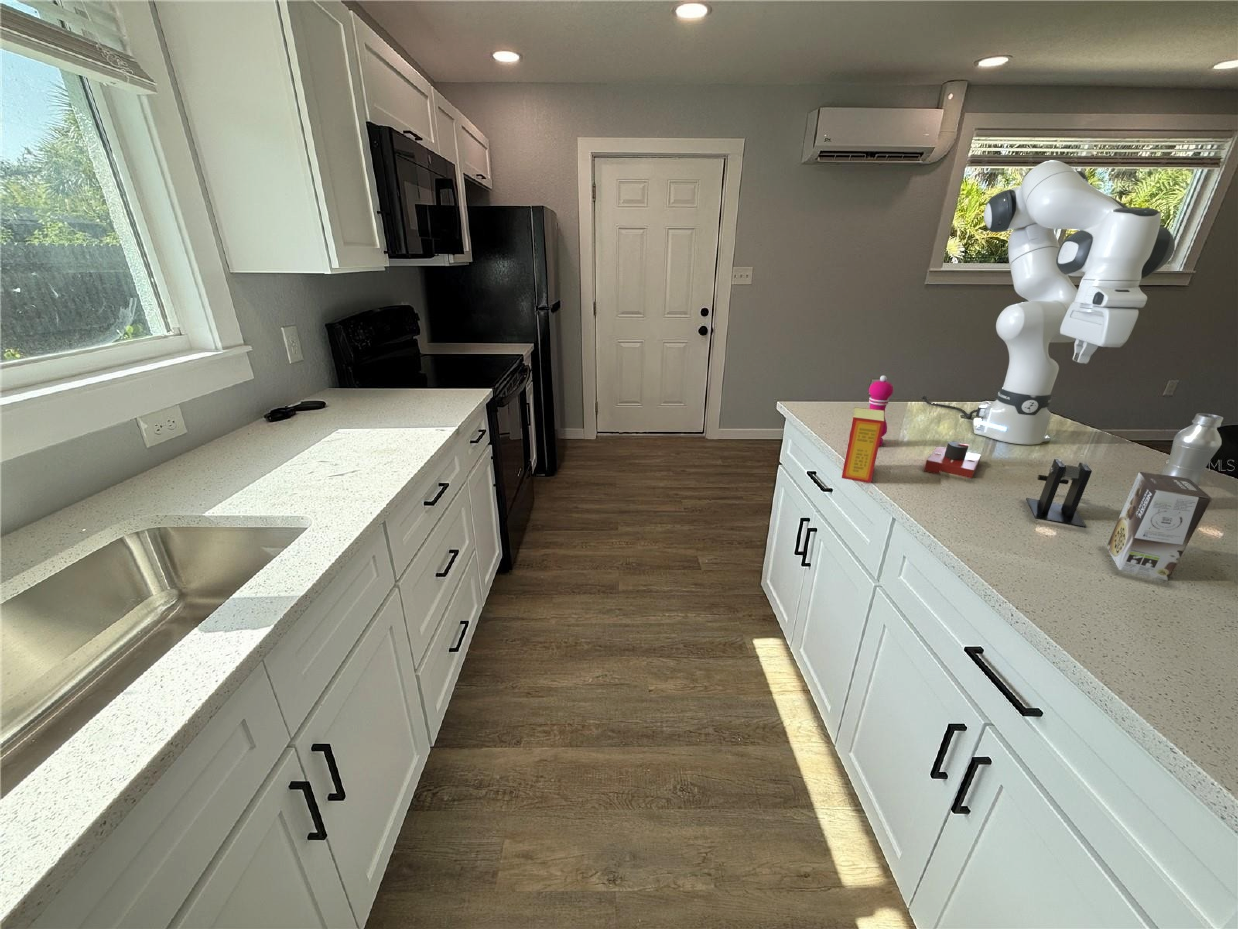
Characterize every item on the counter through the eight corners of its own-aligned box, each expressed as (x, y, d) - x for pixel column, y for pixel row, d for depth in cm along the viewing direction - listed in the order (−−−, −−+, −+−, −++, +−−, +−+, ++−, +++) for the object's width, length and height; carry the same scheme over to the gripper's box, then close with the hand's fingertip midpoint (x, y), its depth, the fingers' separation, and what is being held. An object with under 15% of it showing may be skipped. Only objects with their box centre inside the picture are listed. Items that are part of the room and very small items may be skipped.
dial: (942, 457, 125) (946, 443, 123) (946, 452, 128) (950, 439, 126) (962, 461, 122) (966, 447, 120) (966, 457, 125) (970, 443, 123)
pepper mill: (887, 448, 139) (902, 378, 131) (859, 446, 141) (873, 377, 133) (879, 439, 146) (894, 373, 138) (854, 438, 147) (866, 372, 139)
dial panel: (934, 456, 134) (937, 445, 132) (978, 465, 127) (981, 454, 126) (923, 470, 125) (926, 459, 123) (970, 481, 118) (974, 469, 117)
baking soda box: (843, 464, 129) (855, 405, 122) (871, 468, 126) (884, 409, 120) (841, 478, 121) (853, 416, 114) (870, 483, 118) (884, 419, 112)
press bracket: (1024, 502, 108) (1042, 453, 104) (1070, 510, 105) (1091, 459, 100) (1033, 522, 100) (1053, 469, 96) (1084, 531, 97) (1107, 477, 92)
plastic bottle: (1183, 512, 103) (1228, 422, 96) (1141, 499, 109) (1180, 413, 101) (1195, 506, 106) (1240, 417, 98) (1153, 493, 112) (1192, 409, 104)
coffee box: (1168, 586, 81) (1214, 499, 74) (1116, 573, 84) (1155, 489, 78) (1151, 559, 88) (1191, 477, 82) (1103, 549, 91) (1138, 469, 85)
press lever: (1036, 482, 108) (1038, 472, 108) (1065, 487, 106) (1067, 476, 106) (1055, 475, 98) (1057, 463, 99) (1087, 480, 96) (1089, 468, 96)
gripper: (1063, 291, 111) (1042, 353, 116) (1111, 297, 93) (1083, 370, 99) (1098, 292, 109) (1075, 354, 114) (1153, 298, 91) (1123, 372, 97)
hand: (1079, 362), depth 106 cm, fingers closed
